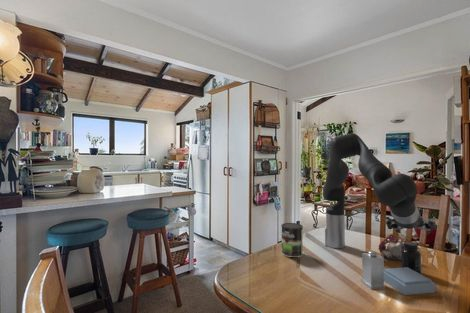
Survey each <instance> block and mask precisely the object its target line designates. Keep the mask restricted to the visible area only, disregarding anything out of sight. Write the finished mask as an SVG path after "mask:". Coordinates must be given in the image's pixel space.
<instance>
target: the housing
mask: <svg viewBox="0 0 470 313" xmlns="http://www.w3.org/2000/svg"><path fill="white" fill-rule="evenodd" d="M361 254H362V255H361V261H362V262H361V263H362V264H361V266H362V268H361V269H362V276H361V277H362V278H361V279H360V282H361V283H362V284H364V285H365V286H366V287H367V288H369V289H370V290H378V289H386V285H385V281H384V269H385V268H384V267H385V266H384V264H385V263H384V261H385V260H384V258H385V257H384V256H383V255H382V256H383V257H384V258H383V257H382V256H380V255H379V254H378V252H377V251H374V250H368V252H362V253H361Z"/></svg>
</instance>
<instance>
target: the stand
mask: <svg viewBox="0 0 470 313" xmlns="http://www.w3.org/2000/svg"><path fill="white" fill-rule="evenodd" d="M384 283H386V284H388V285H389V286H391V287H392V288H393V289H395V290H396V291H398V292H400V293H401V294H402V295H404V296H407V295H408V296H409V295H419V294H420V295H421V294H422V295H423V294H430V293H431V294H432V293H436V282H434V281H432V279H431V278H428V277H426V276H425V275H423V274H419V273H417V272H415V271H414V270H412V269H410V268H408V267H404V268H402V267H394V268H384Z"/></svg>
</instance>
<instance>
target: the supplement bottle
mask: <svg viewBox="0 0 470 313" xmlns="http://www.w3.org/2000/svg"><path fill="white" fill-rule="evenodd" d="M403 244H404V248H403V249H402V250H401V262H400V263H401V268H404V267H408V268H410V269H412V270H414V271H415V272H417V273H419V274H421V275H423V273H422V272H423V270H422V268H423V267H422V253H421V251H420V250H419V245H418V243H416V242H412V241H404V242H403Z"/></svg>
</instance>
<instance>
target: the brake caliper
mask: <svg viewBox="0 0 470 313" xmlns="http://www.w3.org/2000/svg"><path fill="white" fill-rule="evenodd" d="M386 244H387V245H386ZM403 248H404V242H402V239H401V238H399V239H398V238H397V237H396V236H395V235H394V234H393V233H389V235H388V236H386V238H384V239H383V240H382V241H381V242H380V243H379V245H378V250H379V252H380V253H379V254H378V255H380V256H382V257H383V258H384V261H385V262H388V261H389V260H401V250H402V249H403Z"/></svg>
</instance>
